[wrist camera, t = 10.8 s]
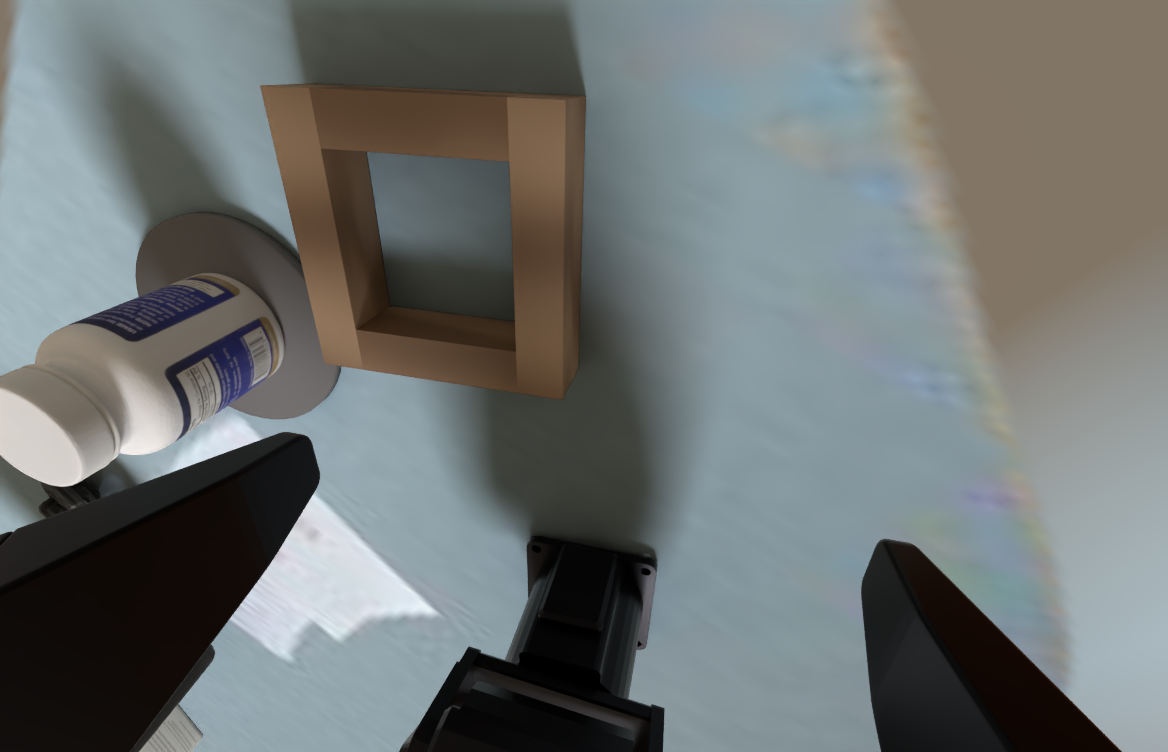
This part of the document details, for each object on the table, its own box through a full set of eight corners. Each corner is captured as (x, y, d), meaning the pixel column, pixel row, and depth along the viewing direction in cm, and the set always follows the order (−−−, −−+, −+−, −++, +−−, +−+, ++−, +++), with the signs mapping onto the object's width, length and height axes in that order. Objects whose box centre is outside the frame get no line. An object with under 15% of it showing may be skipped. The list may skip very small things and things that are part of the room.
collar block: (578, 368, 23) (562, 399, 20) (360, 338, 24) (324, 363, 22) (585, 96, 18) (565, 100, 16) (311, 83, 20) (260, 85, 17)
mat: (359, 426, 27) (352, 433, 27) (189, 397, 29) (179, 403, 29) (316, 222, 22) (306, 226, 22) (114, 202, 24) (101, 205, 24)
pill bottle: (167, 313, 26) (-69, 415, 18) (214, 246, 23) (-36, 332, 16) (255, 396, 27) (69, 523, 19) (310, 341, 24) (121, 462, 17)
